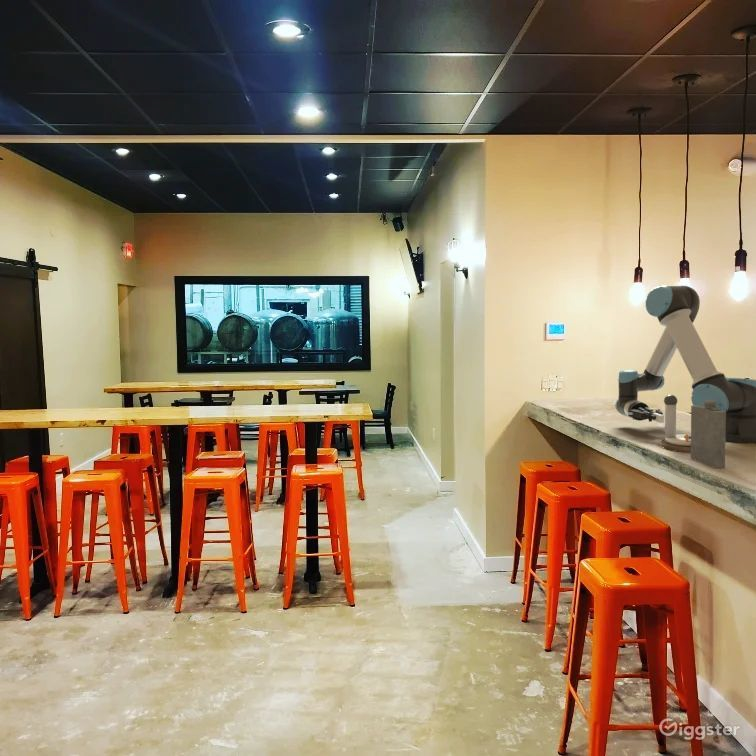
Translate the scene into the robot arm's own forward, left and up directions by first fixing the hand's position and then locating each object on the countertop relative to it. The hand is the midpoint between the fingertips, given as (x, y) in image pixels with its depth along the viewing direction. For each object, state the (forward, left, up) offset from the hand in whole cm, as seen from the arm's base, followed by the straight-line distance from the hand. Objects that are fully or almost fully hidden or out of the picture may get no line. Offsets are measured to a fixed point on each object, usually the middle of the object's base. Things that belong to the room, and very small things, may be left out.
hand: (661, 419), depth 232 cm
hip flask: (-1, +33, -9) cm, 35 cm away
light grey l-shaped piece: (-5, +9, -7) cm, 13 cm away
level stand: (-6, +9, -9) cm, 14 cm away
